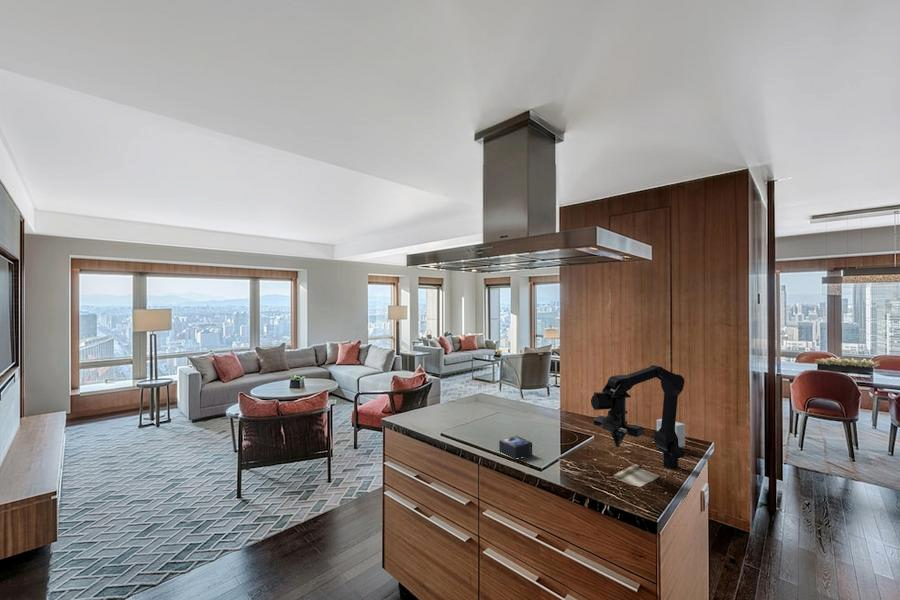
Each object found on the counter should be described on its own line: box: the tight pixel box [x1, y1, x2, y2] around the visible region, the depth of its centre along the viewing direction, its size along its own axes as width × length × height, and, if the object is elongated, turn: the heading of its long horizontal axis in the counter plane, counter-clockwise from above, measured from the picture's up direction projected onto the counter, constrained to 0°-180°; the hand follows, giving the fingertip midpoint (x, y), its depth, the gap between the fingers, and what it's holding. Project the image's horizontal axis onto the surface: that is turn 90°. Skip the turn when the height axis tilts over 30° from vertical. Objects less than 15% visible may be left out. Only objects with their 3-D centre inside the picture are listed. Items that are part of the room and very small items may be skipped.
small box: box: [498, 435, 533, 459], centre depth 167 cm, size 11×6×10 cm
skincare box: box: [656, 418, 686, 448], centre depth 180 cm, size 10×6×10 cm, turn 27°
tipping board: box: [613, 463, 661, 488], centre depth 145 cm, size 16×10×2 cm, turn 126°
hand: (617, 446), depth 152 cm, fingers closed
